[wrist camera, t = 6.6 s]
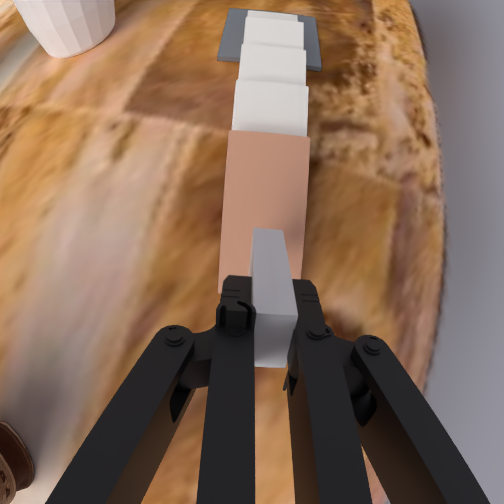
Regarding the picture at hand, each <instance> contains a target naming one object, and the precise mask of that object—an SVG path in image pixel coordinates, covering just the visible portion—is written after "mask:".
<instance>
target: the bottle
mask: <svg viewBox="0 0 504 504" xmlns="http://www.w3.org/2000/svg"><path fill="white" fill-rule="evenodd" d="M13 2H14V4H15V5H16V7H17V9H18V11H19V13H20V14H21V16H22V18H23V20H24V22H25V23H26V25H27V27H28V29H29V30H30V31H31V33H32V34H33V35H34V37H35V38H36V39H37V40H38V42H39V43H40V44H41V45H42V47H43V48H44V49H45V51H46V52H47V53H48V54H49V55H51V56H52V57H55V58H69V57H73V56H76V55H79V54H82V53H84V52H86V51H88V50H90V49H92V48H94V47H95V46H96V45H98V44H99V43H101V42H102V41H103V40H104V39H105V38H106V37H107V36H108V35H109V34H110V32H111V31H112V29H113V27H114V25H115V8H114V0H13Z"/></svg>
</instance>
